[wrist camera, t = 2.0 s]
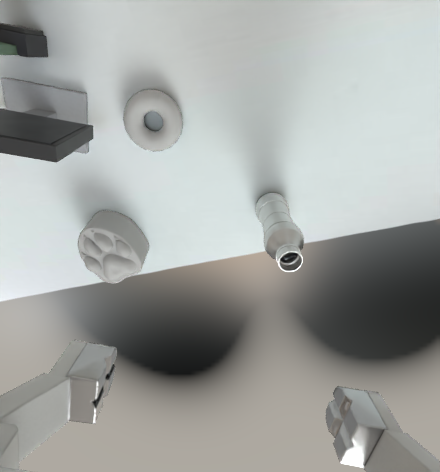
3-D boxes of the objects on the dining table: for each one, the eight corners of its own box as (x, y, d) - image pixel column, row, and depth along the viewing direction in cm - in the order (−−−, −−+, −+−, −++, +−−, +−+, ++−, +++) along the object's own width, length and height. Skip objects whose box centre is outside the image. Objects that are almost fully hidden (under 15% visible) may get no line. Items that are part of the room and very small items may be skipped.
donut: (128, 146, 56) (183, 151, 56) (122, 151, 53) (180, 156, 53) (124, 85, 51) (184, 91, 51) (118, 87, 48) (182, 93, 48)
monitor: (-18, 72, 50) (-143, 81, 32) (108, 97, 52) (53, 117, 34) (-6, 135, 55) (-110, 171, 37) (108, 155, 57) (60, 199, 39)
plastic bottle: (253, 220, 63) (267, 281, 46) (254, 189, 60) (269, 242, 43) (285, 218, 63) (310, 279, 46) (287, 188, 60) (315, 241, 43)
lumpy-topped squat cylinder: (117, 267, 69) (104, 293, 62) (78, 222, 64) (59, 244, 56) (155, 249, 67) (147, 273, 59) (118, 200, 61) (104, 220, 54)
